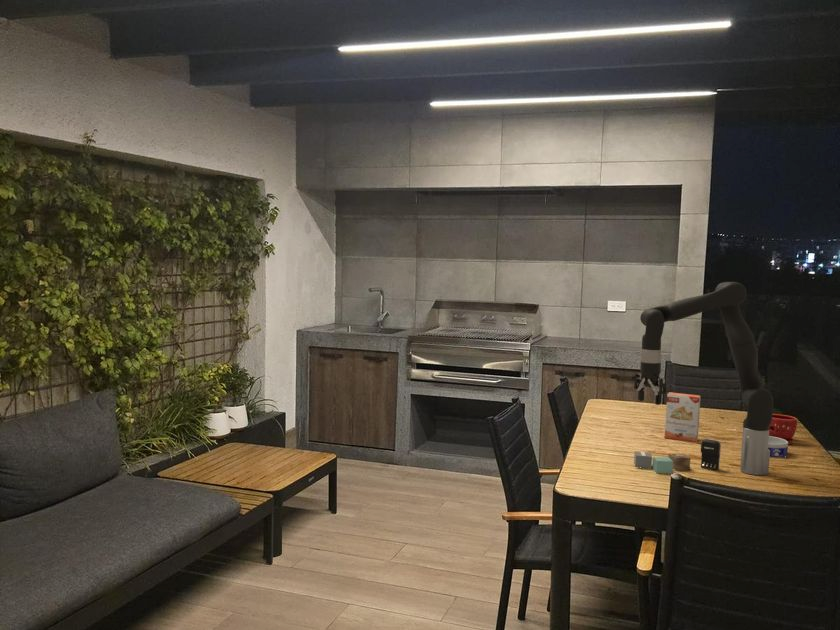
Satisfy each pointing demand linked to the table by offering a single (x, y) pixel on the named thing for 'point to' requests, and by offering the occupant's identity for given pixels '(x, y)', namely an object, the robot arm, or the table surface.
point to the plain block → (662, 465)
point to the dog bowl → (777, 447)
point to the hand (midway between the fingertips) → (649, 402)
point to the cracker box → (682, 417)
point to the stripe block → (642, 459)
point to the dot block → (680, 461)
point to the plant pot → (783, 431)
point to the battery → (710, 454)
